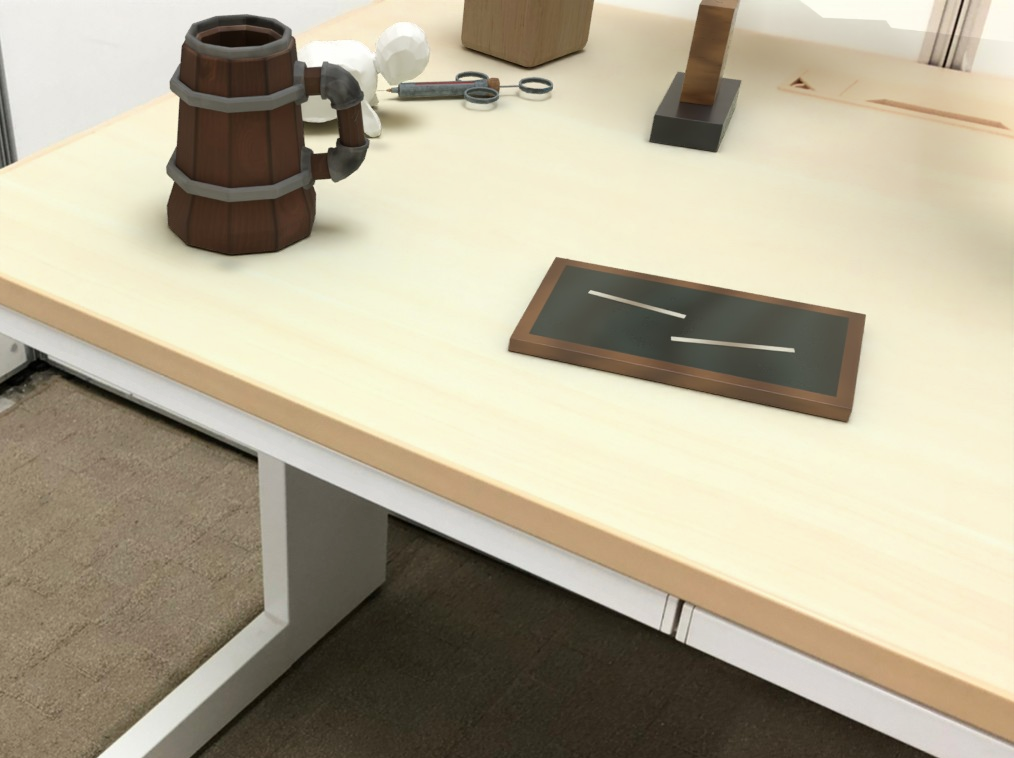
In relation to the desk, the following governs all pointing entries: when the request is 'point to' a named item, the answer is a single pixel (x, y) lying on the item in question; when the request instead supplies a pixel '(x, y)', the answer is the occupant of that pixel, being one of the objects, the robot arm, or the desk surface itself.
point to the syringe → (467, 87)
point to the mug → (253, 136)
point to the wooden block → (526, 28)
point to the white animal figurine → (367, 68)
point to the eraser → (701, 84)
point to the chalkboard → (695, 337)
